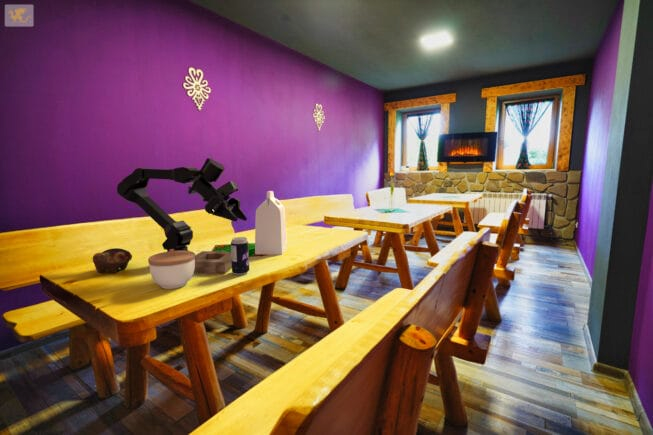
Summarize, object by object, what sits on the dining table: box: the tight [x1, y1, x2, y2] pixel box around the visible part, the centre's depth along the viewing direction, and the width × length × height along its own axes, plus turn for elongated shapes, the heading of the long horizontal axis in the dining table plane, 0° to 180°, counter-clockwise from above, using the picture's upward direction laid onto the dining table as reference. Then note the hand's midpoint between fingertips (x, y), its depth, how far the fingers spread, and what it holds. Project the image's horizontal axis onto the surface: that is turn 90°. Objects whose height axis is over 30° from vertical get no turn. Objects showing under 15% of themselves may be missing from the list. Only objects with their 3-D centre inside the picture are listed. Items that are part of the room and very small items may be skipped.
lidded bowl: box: [147, 249, 196, 290], centre depth 91 cm, size 13×13×11 cm
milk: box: [254, 190, 288, 256], centre depth 130 cm, size 12×12×26 cm
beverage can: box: [230, 236, 250, 276], centre depth 101 cm, size 6×6×12 cm
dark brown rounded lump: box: [92, 247, 133, 274], centre depth 104 cm, size 10×15×8 cm, turn 0°
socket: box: [194, 250, 232, 275], centre depth 108 cm, size 14×14×4 cm
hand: (241, 220), depth 106 cm, fingers open, 9 cm apart
